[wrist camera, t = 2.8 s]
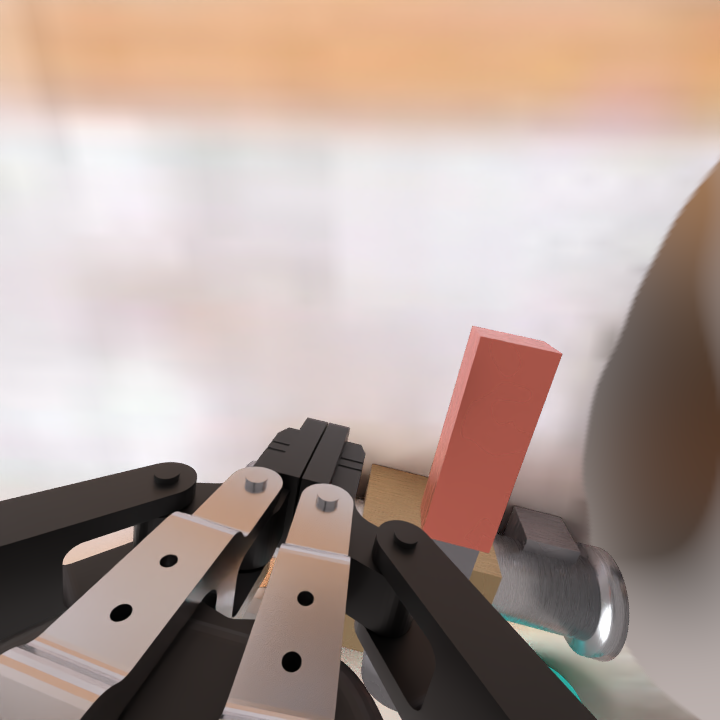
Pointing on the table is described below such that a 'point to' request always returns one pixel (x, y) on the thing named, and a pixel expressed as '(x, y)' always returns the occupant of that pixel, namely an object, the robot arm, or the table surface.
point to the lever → (481, 450)
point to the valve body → (522, 570)
